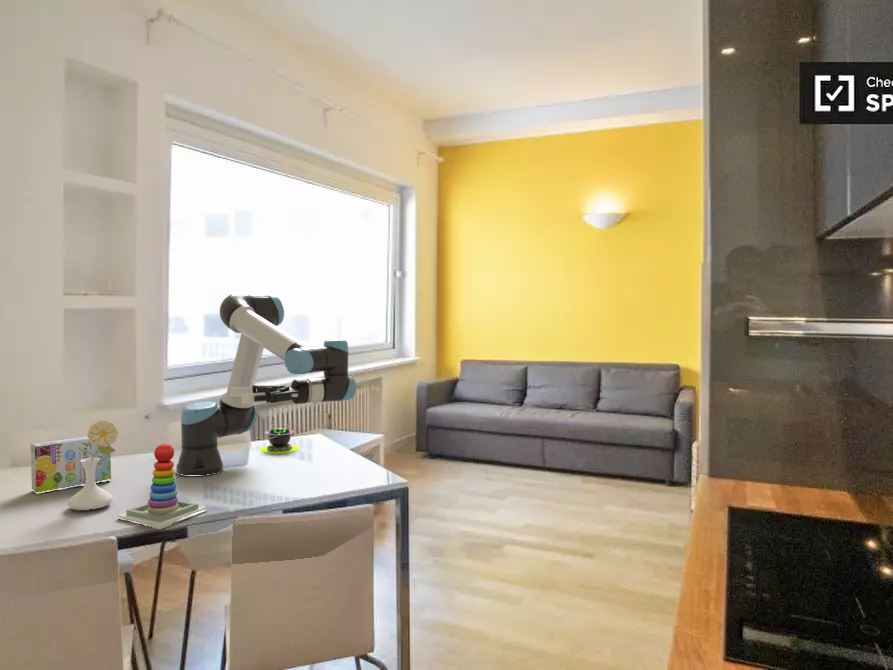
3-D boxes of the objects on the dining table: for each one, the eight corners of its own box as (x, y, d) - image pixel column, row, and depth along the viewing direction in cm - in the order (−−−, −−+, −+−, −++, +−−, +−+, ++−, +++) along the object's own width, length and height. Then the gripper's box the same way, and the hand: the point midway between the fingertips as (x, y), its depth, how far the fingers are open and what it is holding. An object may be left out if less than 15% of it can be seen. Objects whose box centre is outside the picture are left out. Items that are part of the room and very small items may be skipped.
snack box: (105, 478, 214) (105, 433, 213) (111, 482, 210) (110, 436, 209) (31, 491, 199) (30, 442, 198) (35, 495, 195) (34, 446, 194)
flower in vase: (65, 516, 177) (63, 425, 176) (70, 503, 188) (69, 418, 186) (118, 510, 183) (117, 422, 181) (120, 498, 193) (119, 415, 192)
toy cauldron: (261, 445, 264) (261, 419, 264) (299, 444, 267) (299, 418, 267) (258, 454, 250) (258, 426, 249) (298, 453, 253) (298, 425, 252)
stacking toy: (167, 517, 174) (166, 448, 173) (140, 514, 176) (140, 446, 175) (184, 507, 182) (184, 442, 181) (159, 505, 184) (158, 440, 182)
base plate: (117, 519, 175) (117, 510, 175) (166, 503, 190) (165, 495, 190) (159, 529, 168) (159, 520, 168) (206, 511, 183) (206, 503, 183)
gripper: (320, 409, 189) (247, 415, 178) (293, 397, 210) (226, 402, 199) (320, 383, 189) (247, 388, 177) (293, 374, 210) (225, 377, 199)
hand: (235, 395), depth 188 cm, fingers open, 13 cm apart
